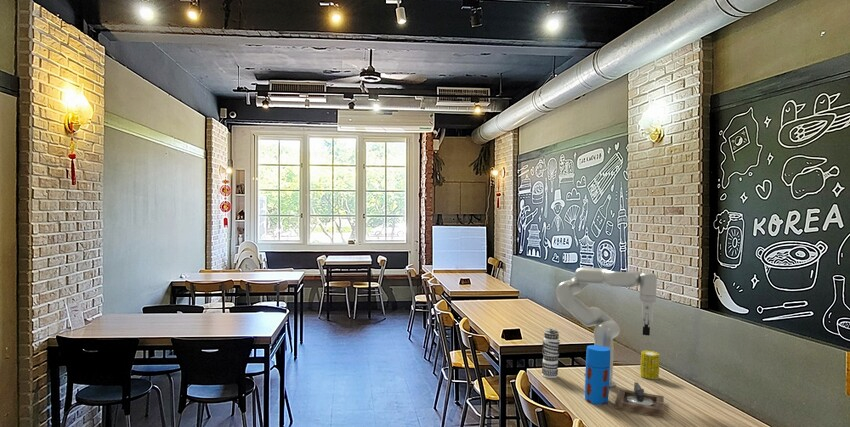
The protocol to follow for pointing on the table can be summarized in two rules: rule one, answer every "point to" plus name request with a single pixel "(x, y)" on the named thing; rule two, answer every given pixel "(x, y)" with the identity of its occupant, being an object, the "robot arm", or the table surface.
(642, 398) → the dial
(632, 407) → the wooden frame
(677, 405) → the table surface
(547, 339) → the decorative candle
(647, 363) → the food
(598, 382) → the thermos
